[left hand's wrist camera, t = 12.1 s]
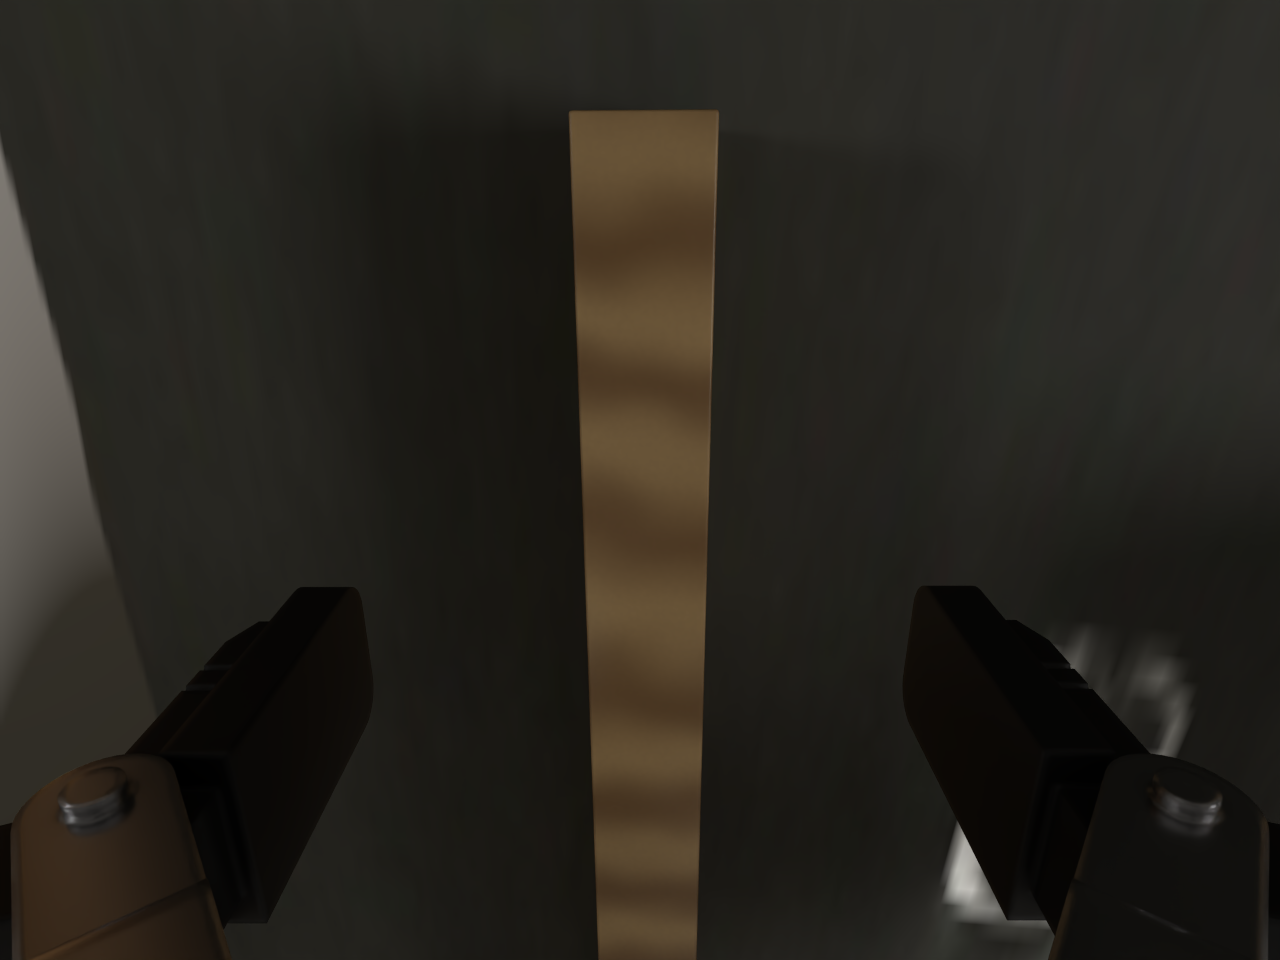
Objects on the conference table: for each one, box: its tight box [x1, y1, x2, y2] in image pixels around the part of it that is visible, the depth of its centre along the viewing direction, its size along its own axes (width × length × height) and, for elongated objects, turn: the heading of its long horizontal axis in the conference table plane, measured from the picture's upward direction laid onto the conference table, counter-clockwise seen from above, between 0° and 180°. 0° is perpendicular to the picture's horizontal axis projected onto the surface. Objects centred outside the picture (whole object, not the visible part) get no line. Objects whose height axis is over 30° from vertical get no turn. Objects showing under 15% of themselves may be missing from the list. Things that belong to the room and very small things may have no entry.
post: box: [569, 109, 719, 960], centre depth 37 cm, size 52×5×9 cm, turn 0°
